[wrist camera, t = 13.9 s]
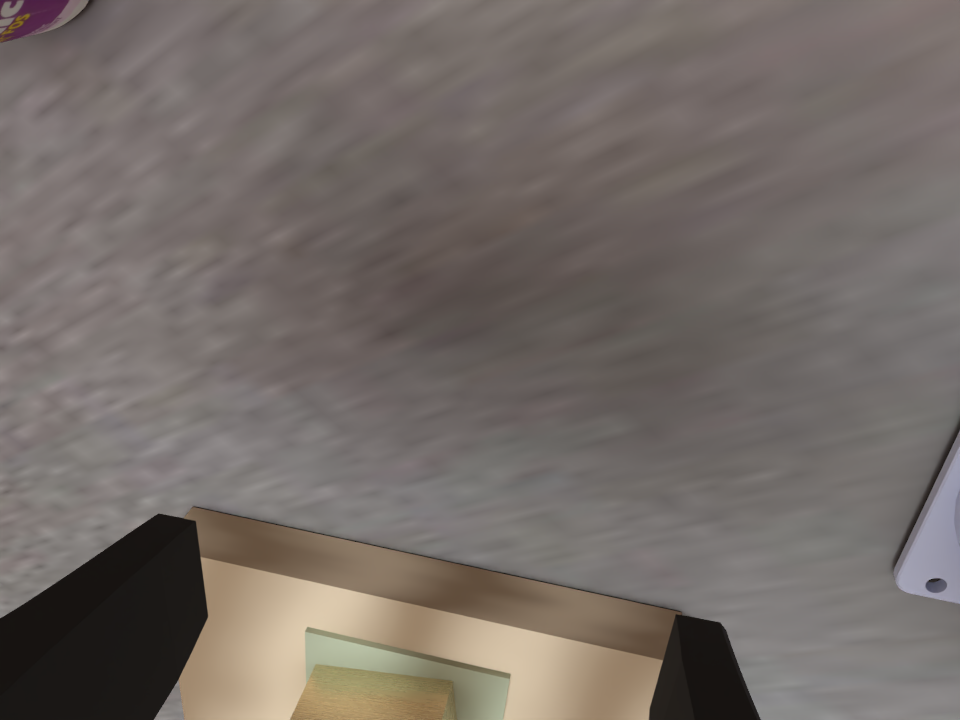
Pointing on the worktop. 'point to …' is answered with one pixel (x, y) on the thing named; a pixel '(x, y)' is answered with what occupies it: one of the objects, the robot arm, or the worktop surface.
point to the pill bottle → (35, 16)
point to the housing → (373, 696)
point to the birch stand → (407, 630)
